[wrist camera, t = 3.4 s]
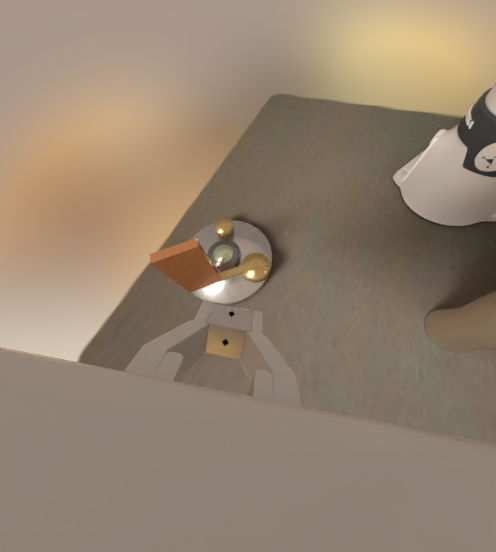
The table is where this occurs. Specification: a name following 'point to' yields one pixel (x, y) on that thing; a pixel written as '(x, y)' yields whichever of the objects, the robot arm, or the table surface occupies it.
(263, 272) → the vane knob
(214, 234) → the levelling base
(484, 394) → the table surface
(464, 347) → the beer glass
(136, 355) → the robot arm
